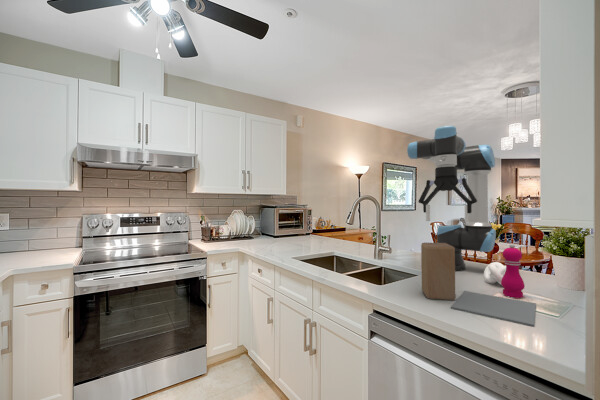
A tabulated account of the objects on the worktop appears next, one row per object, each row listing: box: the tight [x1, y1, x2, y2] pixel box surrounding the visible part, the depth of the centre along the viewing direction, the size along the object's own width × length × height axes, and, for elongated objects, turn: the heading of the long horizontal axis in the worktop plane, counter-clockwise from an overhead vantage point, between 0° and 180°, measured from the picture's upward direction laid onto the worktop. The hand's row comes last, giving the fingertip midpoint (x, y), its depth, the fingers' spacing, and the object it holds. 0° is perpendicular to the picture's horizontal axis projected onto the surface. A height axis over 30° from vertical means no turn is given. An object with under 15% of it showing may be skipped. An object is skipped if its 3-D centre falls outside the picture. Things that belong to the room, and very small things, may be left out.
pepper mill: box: [501, 243, 525, 299], centre depth 108 cm, size 7×7×20 cm
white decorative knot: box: [483, 261, 506, 287], centre depth 123 cm, size 11×12×9 cm
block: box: [420, 242, 456, 301], centre depth 109 cm, size 10×10×20 cm
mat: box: [450, 290, 537, 328], centre depth 97 cm, size 22×22×1 cm
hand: (446, 221), depth 109 cm, fingers open, 13 cm apart
